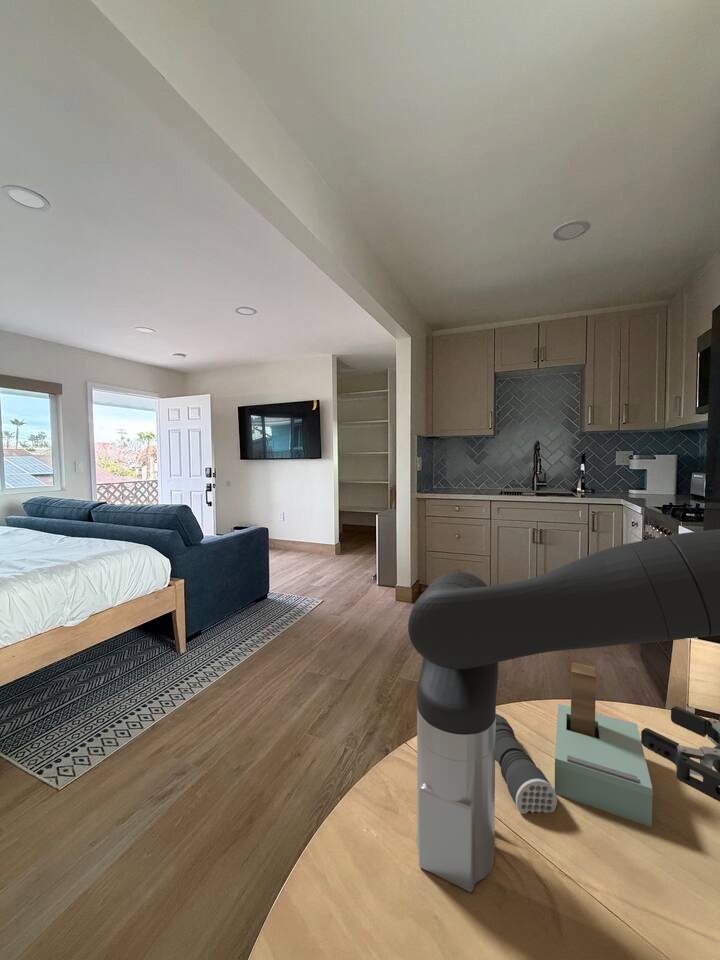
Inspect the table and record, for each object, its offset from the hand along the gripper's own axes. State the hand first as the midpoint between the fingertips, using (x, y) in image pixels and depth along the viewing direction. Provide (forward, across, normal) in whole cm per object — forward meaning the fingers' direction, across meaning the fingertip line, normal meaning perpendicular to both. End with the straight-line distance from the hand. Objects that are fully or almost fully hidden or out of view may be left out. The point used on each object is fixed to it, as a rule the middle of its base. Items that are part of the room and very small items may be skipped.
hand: (657, 723), depth 53 cm
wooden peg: (+10, 0, +11) cm, 15 cm away
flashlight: (+14, +11, +12) cm, 22 cm away
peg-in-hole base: (+7, +1, +12) cm, 14 cm away
